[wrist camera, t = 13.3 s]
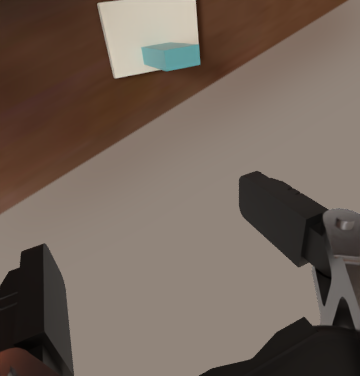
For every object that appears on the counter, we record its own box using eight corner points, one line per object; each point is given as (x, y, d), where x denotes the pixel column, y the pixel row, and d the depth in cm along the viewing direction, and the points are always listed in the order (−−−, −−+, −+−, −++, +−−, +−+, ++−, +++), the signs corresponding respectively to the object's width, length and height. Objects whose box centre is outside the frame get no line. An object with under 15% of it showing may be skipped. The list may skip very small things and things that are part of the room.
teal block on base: (113, 77, 36) (132, 88, 29) (96, 3, 32) (113, -5, 24) (196, 61, 39) (231, 67, 32) (190, -7, 35) (230, -18, 28)
